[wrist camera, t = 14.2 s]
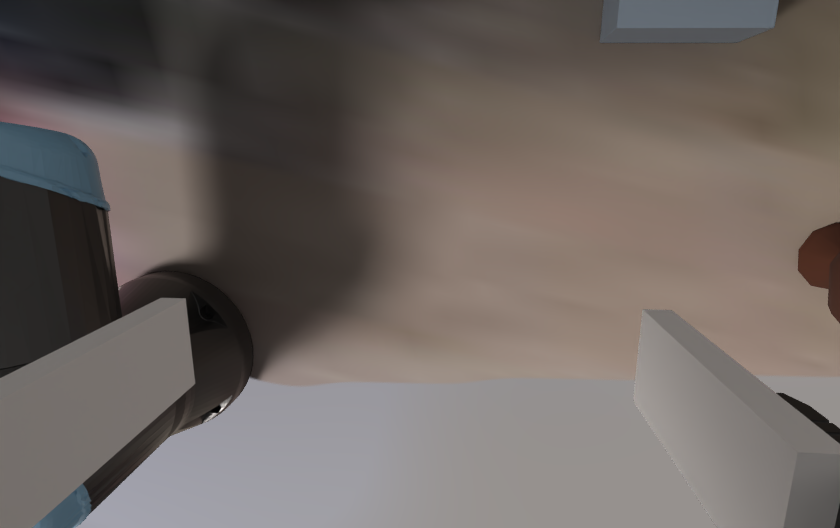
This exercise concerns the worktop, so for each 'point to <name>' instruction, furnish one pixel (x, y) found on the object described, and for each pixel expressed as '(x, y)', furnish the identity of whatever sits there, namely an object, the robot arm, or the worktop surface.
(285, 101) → the worktop surface
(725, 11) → the grey slate tile
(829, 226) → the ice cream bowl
